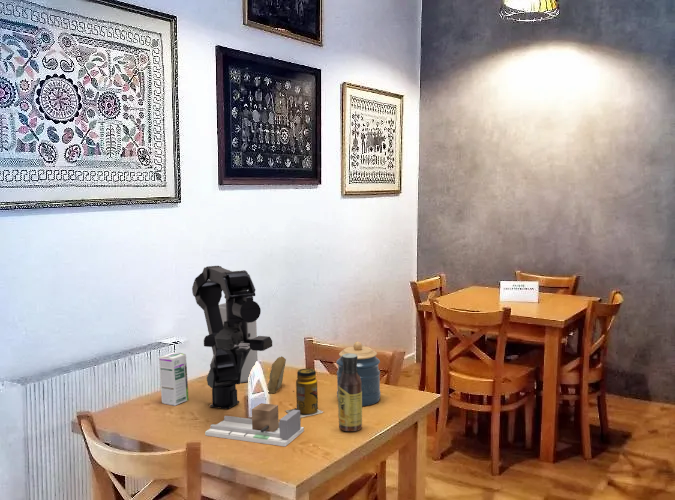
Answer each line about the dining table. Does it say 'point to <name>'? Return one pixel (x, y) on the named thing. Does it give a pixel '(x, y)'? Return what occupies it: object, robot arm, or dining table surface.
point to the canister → (364, 372)
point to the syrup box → (173, 378)
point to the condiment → (306, 393)
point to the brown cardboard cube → (265, 417)
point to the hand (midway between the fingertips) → (238, 372)
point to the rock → (276, 374)
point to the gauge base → (243, 430)
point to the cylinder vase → (252, 330)
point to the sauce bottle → (350, 395)
